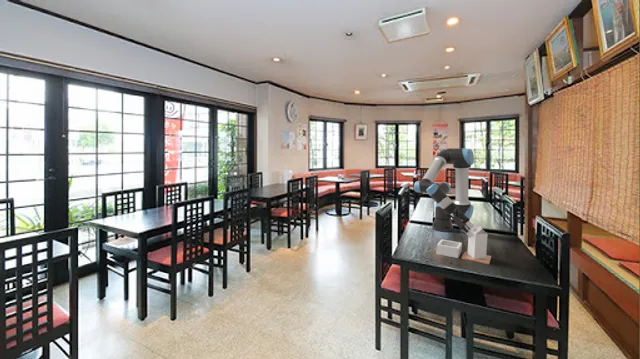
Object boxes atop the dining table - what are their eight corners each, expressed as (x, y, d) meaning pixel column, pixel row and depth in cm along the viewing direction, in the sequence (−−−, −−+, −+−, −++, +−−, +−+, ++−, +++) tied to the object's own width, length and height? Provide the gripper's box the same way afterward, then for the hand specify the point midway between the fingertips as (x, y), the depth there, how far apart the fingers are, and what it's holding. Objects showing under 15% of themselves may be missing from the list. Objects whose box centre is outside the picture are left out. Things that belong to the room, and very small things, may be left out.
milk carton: (478, 254, 172) (480, 223, 169) (486, 259, 165) (488, 227, 162) (467, 254, 171) (469, 223, 169) (474, 259, 164) (475, 227, 162)
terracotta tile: (464, 252, 177) (465, 251, 177) (491, 257, 169) (491, 256, 169) (461, 259, 167) (461, 257, 167) (489, 264, 159) (489, 262, 159)
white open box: (441, 248, 185) (441, 239, 184) (461, 252, 178) (461, 242, 177) (436, 253, 175) (436, 244, 175) (457, 258, 168) (458, 248, 168)
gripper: (447, 205, 186) (471, 231, 179) (438, 213, 166) (465, 243, 159) (456, 198, 182) (481, 224, 175) (448, 205, 162) (476, 235, 155)
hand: (473, 233), depth 167 cm, fingers open, 13 cm apart
